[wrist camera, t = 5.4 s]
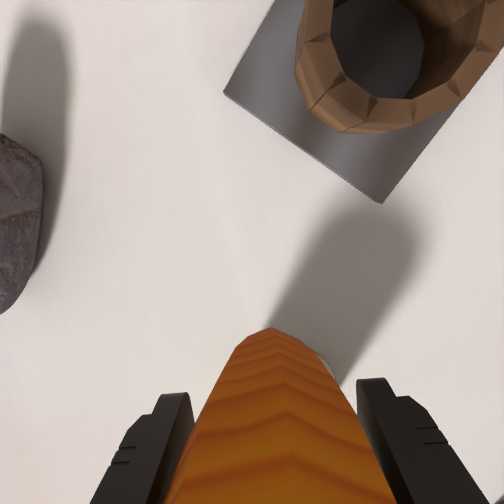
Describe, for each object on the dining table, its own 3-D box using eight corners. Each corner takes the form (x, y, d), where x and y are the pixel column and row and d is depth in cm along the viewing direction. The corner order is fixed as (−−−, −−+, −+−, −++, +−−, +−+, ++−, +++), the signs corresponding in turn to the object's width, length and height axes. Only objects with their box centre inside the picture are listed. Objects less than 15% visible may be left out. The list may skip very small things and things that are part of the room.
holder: (509, 29, 22) (625, -36, 15) (376, 202, 25) (420, 216, 18) (343, -111, 20) (387, -258, 13) (224, 95, 23) (209, 65, 16)
